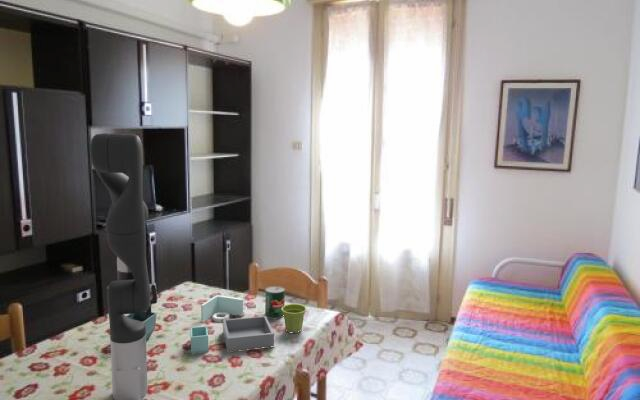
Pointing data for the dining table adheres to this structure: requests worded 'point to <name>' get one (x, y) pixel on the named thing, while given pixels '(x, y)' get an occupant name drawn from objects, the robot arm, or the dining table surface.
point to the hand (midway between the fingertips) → (132, 317)
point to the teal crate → (199, 339)
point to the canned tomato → (274, 301)
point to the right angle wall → (221, 308)
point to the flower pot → (145, 321)
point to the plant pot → (293, 317)
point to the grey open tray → (247, 333)
